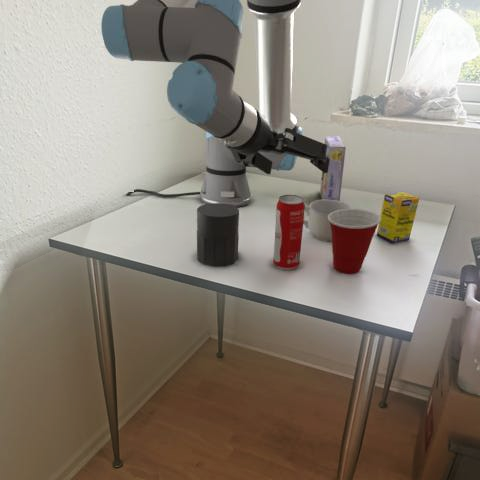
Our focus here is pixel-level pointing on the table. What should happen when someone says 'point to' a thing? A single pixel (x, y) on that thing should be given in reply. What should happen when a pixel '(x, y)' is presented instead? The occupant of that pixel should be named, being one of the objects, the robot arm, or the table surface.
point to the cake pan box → (333, 169)
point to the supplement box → (397, 217)
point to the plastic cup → (351, 237)
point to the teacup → (322, 217)
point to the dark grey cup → (217, 234)
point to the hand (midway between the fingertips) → (297, 167)
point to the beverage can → (288, 231)
